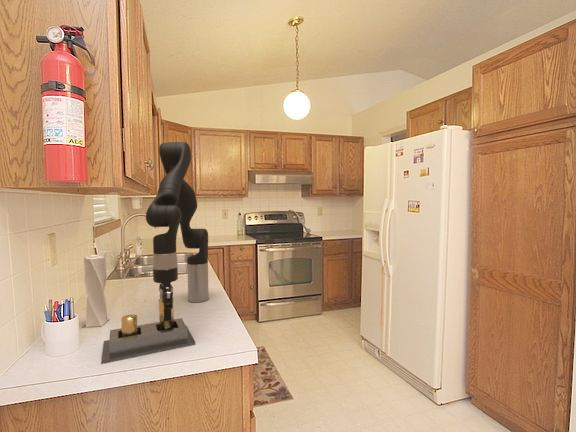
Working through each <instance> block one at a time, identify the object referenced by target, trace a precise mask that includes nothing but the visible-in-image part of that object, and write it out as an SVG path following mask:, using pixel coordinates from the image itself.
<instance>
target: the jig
mask: <svg viewBox="0 0 576 432" xmlns="http://www.w3.org/2000/svg"><path fill="white" fill-rule="evenodd" d="M193 345H196V341H195V339H194V337H193V335H192V333H191V331H190V329H189V328H188V326H187V325H186V323H185V321H184V319H183V318H182V317H181V318H174V326H173V327H171V328H166V329H162V328H160V322H159V321H157V322H150V323H145V324H139V325H138V315H137V314H134V313H131V314H126V315H122V317H121V327H120V328H115V329H110V331H109V339H108V340H103V345H102V354H101V365H104V364H107V363H112V362H117V361H118V362H119V361H121V360H127V359H132V358H136V357H141V356H145V355H147V356H148V355H150V354H155V353H160V352H161V353H162V352H165V351H169V350H175V349H179V348H180V349H181V348H184V347H188V346H193ZM103 363H104V364H103Z"/></svg>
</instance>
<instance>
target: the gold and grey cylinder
mask: <svg viewBox="0 0 576 432" xmlns="http://www.w3.org/2000/svg"><path fill="white" fill-rule="evenodd" d="M166 305H170V303H166ZM158 312H159V317H158V319H159V321H158V322H160V328H162V329H166V328H171V327H173V326H174V319H175V318H174V317H175V316H174V314H175V313H174V312H175V311H174V307H173V308H172V309H171V320H170V321H164V309H163V302H161V298H160V297H159V298H158Z"/></svg>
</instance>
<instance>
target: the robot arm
mask: <svg viewBox="0 0 576 432" xmlns="http://www.w3.org/2000/svg"><path fill="white" fill-rule="evenodd" d="M191 151H192V150H191V147H190V144H189V143H187V142H186V141H172V142H170V141H169V142H162V143H160V144H159V147H158V152H159V153H158V154H159V157H160V161H161V164H162V167H163V170H164V172H165V176H163V177H162V179H161V181H160V182H159V186H158V190H157V193H156V196H155V197H154V199H153V201H152V202H151V203H150V204H149V205H148V208H147V210H146V213H145V220H146V223H147V224H148V225H149V227H153V228H168V230H167V231H166V232H164V233H160V234H157V235H154V236H153V237H152V247H153V250H152V251H153V252H152V254H153V256H152V279H153V282H154V283H156V284H159V286H158V291H159V299H160V298H161V302H163V309H164V321H170V320H171V309H172V308H173V309H174V286H173V285H172V284H171V283H172V282H176V281H178V279H179V272H178V271H179V267H178V256H177V255H178V254H177V236H178V231H179V227H180V231H181V236H182V237H181V239H182V243H183V245H184V247H185V248H186V249H192V250H193V249H195V250H196V249H198V252H197V253H196V254H193V255H190V256H188V257H187V259H186V266H187V269H186V270H187V299H188V302H189V303H203V302H205V301H206V302H207V301H209V298H210V297H209V294H210V293H209V292H210V291H209V263H208V261H209V260H208V259H209V231H208V229H206V228H191V226H190V225H191V220H192V219H193V216H194V214H196V211H197V209H198V201H197V195H196V191H195V190H194V189H193V187H192V186H191V185H190V184H189V183H188V182H187V181H186V180H185V177H186V174H187V172H188V170H189V168H190V167H189V166H190V164H191V163H192V161H191V160H192V152H191ZM166 303H170V305H166Z"/></svg>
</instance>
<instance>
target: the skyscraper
mask: <svg viewBox="0 0 576 432" xmlns="http://www.w3.org/2000/svg"><path fill="white" fill-rule="evenodd" d="M101 253H104V256H101ZM106 256H107V252H106V251H105V250H101V251H100V252H99V253H98V254H92V255H90V256H87V255H86V256H85V255H84V257H83V265H82V266H83V283H84V288H85V292H86V296H87V297H86V311H85V313H86V314H85V317H86V318H85V324H83V325H82V327H81V329H85V328H87V329H88V328H102V327H103V326H104V325H106V324H107V323H108V322H109V321H110V319H108V310H107V301H106V296H105V289H106V283H107V259H106Z"/></svg>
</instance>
